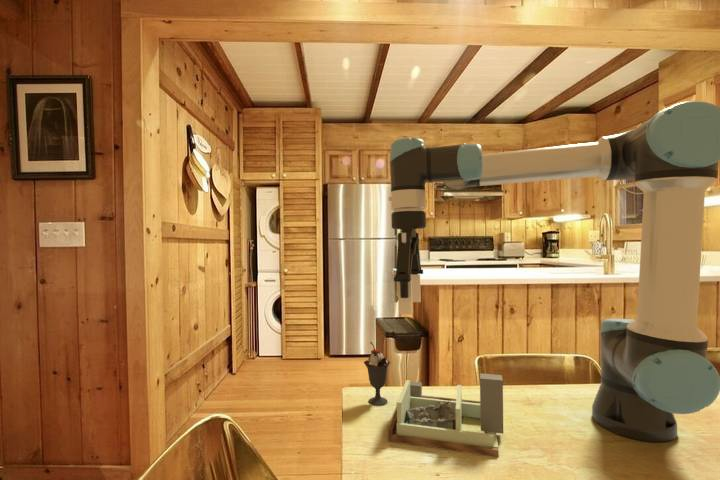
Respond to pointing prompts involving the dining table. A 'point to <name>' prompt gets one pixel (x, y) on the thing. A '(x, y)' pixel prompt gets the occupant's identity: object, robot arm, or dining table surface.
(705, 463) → the dining table surface
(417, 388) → the broken strip
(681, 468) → the dining table surface
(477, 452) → the frame
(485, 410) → the sage green shelf unit
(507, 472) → the dining table surface
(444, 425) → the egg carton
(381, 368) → the sundae
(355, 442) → the dining table surface
